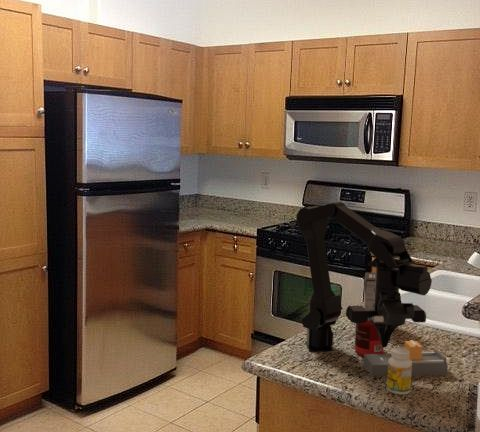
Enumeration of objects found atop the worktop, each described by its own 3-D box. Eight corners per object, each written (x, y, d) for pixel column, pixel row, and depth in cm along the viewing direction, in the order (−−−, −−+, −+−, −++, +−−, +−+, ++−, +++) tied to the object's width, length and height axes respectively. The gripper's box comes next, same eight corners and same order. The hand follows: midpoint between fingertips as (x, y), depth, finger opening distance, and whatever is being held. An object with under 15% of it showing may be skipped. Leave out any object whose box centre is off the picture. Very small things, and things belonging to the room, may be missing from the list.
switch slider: (409, 360, 141) (410, 345, 140) (404, 354, 145) (404, 339, 144) (421, 360, 141) (422, 345, 140) (415, 354, 145) (416, 339, 144)
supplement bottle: (415, 393, 130) (417, 353, 129) (395, 396, 128) (398, 356, 127) (400, 383, 135) (402, 345, 134) (381, 387, 133) (383, 348, 132)
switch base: (371, 376, 139) (372, 360, 138) (363, 365, 146) (364, 349, 145) (446, 375, 140) (447, 359, 140) (435, 363, 147) (436, 348, 147)
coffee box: (362, 320, 181) (364, 271, 179) (383, 322, 180) (385, 273, 178) (362, 330, 173) (365, 278, 170) (384, 331, 171) (387, 280, 169)
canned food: (384, 349, 157) (386, 311, 155) (381, 359, 150) (383, 319, 148) (356, 345, 160) (358, 308, 158) (352, 355, 152) (354, 316, 150)
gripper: (359, 296, 131) (356, 360, 133) (437, 295, 132) (433, 358, 135) (346, 283, 142) (344, 342, 144) (419, 283, 143) (415, 341, 146)
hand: (383, 346), depth 142 cm, fingers closed
